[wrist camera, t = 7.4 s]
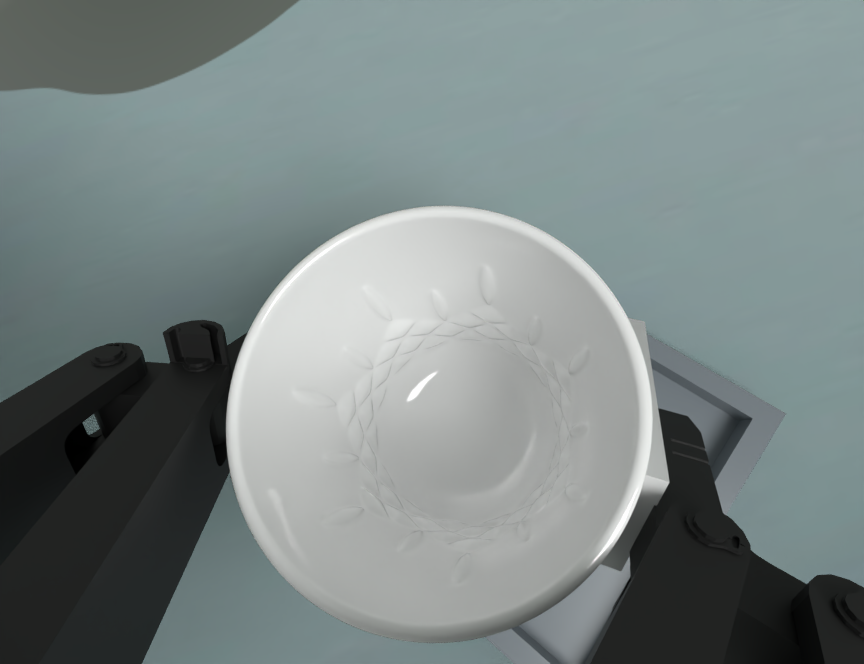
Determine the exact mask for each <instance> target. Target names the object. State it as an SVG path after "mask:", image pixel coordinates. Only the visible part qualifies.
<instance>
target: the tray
mask: <svg viewBox="0 0 864 664" xmlns="http://www.w3.org/2000/svg"><path fill="white" fill-rule="evenodd" d="M647 340H648V347H649V353H650V360H651V366H652V372H653V379H654V385H655V392H656V398H657V405H658V408H660V409H664V410H667V411H671V412H675V413H678V414H682V415H686V416H688V417H689V418H690V419H691V420H692V422H693V423H694V424H695V425H696V427H697V428H698V429H699V430H700V432H701V434H702V438H703V441H704V445H705V451H706V452H707V456H708V460H709V463H708V464H709V465H710V467H711V471H712V474H713V478H714V482H715V485H716V489H717V493H718V496H719V500H720V504H721V507H722V511H723V513H724V514H725V515H726V514H727V513H728V511H729V509H730V508H731V506H732V504H733V503H734V501H735V499H736V497H737V496H738V494H739V492H740V491H741V489H742V487H743V486H744V484H745V482H746V481H747V479H748V477H749V475H750V474H751V472H752V470H753V469H754V467H755V465H756V464H757V462H758V460H759V459H760V457H761V455H762V454H763V452H764V450H765V448H766V447H767V445H768V443H769V442H770V440H771V438H772V437H773V435H774V433H775V432H776V430H777V428H778V427H779V425H780V423H781V421H782V420H783V418H784V416H785V415H786V413H784V412H782V411H781V410H779V409H777V408H775V407H774V406H772V405H770V404H769V403H767V402H765V401H763V400H762V399H760V398H758V397H756V396H755V395H753V394H751V393H749V392H748V391H746V390H744V389H742V388H741V387H739V386H737V385H735V384H734V383H732V382H730V381H728V380H727V379H725V378H723V377H721V376H720V375H718V374H716V373H714V372H713V371H711V370H709V369H707V368H706V367H704V366H702V365H701V364H699V363H697V362H695V361H694V360H692V359H690V358H688V357H687V356H685V355H683V354H681V353H680V352H678V351H676V350H674V349H673V348H671V347H669V346H667V345H666V344H664V343H662V342H660V341H659V340H657V339H655V338H653V337H652V336H650V335H648V334H647ZM630 576H631V575H630V556H629V558H628V560H627V562H626V564H625V566H624V567H623V569H622V571H618V570H615V569H613V568H610V567H607V566H604V565H602V564H600V565H599V566H598V567H597V569H596V570H595V571H594V572H593V573H592V574H591V575H590V576H589V577H588V578H587V579H586V580H585V581H584V582H583V583H582V584H581V585H580V586H579V587H578V588H577V589H576V590H574V591H573V592H572V593H571V594H570V595H568V596H567V597H566V598H565V599H563V600H562V601H561V602H559V603H558V604H556V605H555V606H553V607H552V608H550V609H549V610H547V611H546V612H544V613H542V614H541V615H539V616H537V617H535V618H533V619H531V620H529V621H527V622H525V623H523V624H521V625H519V626H516V627H514V628H511V629H509V630H506V631H503V632H500V633H497V634H494V635H491V636H487V637H486V638H487V639H488V640H489V641H490V642H491V643H492V644H493V645H494V646H495V647H497V648H498V649H499V650H500V651H501V652H502V653H503V654H504V655H505V656H506V657H508V658H509V659H510V660H511V661H512V662H513V663H514V664H585V662H586V660H587V658H588V656H589V654H590V652H591V651H592V649H593V647H594V645H595V643H596V641H597V639H598V637H599V635H600V633H601V631H602V629H603V627H604V625H605V623H606V622H607V620H608V618H609V616H610V614H611V612H612V610H613V606H614V605H615V603H616V601H617V599H618V597H619V596H620V594H621V592H622V590H623V589H624V587H625V585H626V583H627V582H628V580H629V578H630Z"/></svg>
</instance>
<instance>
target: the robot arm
mask: <svg viewBox="0 0 864 664" xmlns="http://www.w3.org/2000/svg"><path fill="white" fill-rule="evenodd" d="M628 319H629V321H630V323H631V325H632V327H633V330H634V332H635V334H636V337H637V339H638V342H639V344H640V347H641V350H642V353H643V356H644V360H645V364H646V368H647V372H648V377H649V382H650V389H651V397H652V412H653V427H652V442H651V450H650V457H649V463H648V467H647V472H646V476H645V479H644V483H643V486H642V489H641V492H640V495H639V498H638V501H637V503H636V506H635V508H634V510H633V513H632V515H631V517H630V519H629V521H628V523H627V525H626V527H625V529H624V530H623V532H622V534H621V536H620V537H619V539H618V540H617V542H616V543H615V545H614V547H613V548H612V549H611V551H610V552H609V554H608V555H607V556H606V558H605V559H604V560H603V561H602V563H601V564H602V565H604V566H607V567H610V568H613V569H615V570H618V571H622V569H623V567H624V566H625V564H626V562H627V560H628V558H629V556H630V575H631V576H630V578H629V580H628V582H627V583H626V585H625V587H624V589H623V590H622V592H621V594H620V596H619V597H618V599H617V601H616V603H615V605H614V606H613V610H612V612H611V614H610V616H609V618H608V620H607V622H606V623H605V625H604V627H603V629H602V631H601V633H600V635H599V637H598V639H597V641H596V643H595V645H594V647H593V649H592V651H591V652H590V654H589V656H588V658H587V660H586V662H585V664H864V588H863V587H862V586H860V585H858V584H856V583H854V582H852V581H850V580H848V579H845V578H841V577H838V576H835V575H817V576H816V577H814V578H813V579H812V580H811V581H810V582H809V583H808V584H805V583H803V582H802V581H800V580H798V579H796V578H795V577H793V576H791V575H789V574H788V573H786V572H784V571H782V570H781V569H779V568H777V567H775V566H773V565H772V564H770V563H768V562H767V561H765V560H764V559H762V558H761V557H759V556H758V555H756V554H755V553H754V552H752V551H751V549H750V543H749V542H748V540H747V538H746V536H745V534H744V532H743V531H742V530H741V529H740V528H739V527H738V525H737V524H736V523H735V522H734V521H733V520H732V519H731V518H729V517H728V516H727V515H725V514H724V513H723V511H722V507H721V504H720V500H719V496H718V493H717V489H716V485H715V482H714V478H713V474H712V471H711V467H710V465H709V464H708V463H709V460H708V456H707V452H706V451H705V445H704V441H703V438H702V434H701V432H700V430H699V429H698V428H697V427H696V425H695V424H694V423H693V422H692V420H691V419H690V418H689V417H688V416H686V415H682V414H678V413H675V412H671V411H667V410H664V409H660V408H658V405H657V398H656V392H655V385H654V379H653V372H652V366H651V360H650V353H649V347H648V340H647V334H646V327H645V322H644V321H640V320H635V319H631V318H628ZM163 335H164V339H165V342H166V346H167V350H168V354H169V358H170V363H169V364H168V363H154V362H145V359H144V355H143V352H142V350H141V349H140V347H139V346H137V345H134V344H130V343H114V344H113V343H111V344H106V345H104V346H100V347H96V348H94V349H92V350H90V351H88V352H85V353H84V354H82V355H80V356H79V357H77V358H75V359H74V360H72V361H70V362H69V363H67V364H65V365H64V366H62V367H60V368H58V369H57V370H55V371H53V372H52V373H50V374H48V375H47V376H45V377H43V378H42V379H40V380H38V381H37V382H35V383H33V384H32V385H30V386H28V387H26V388H25V389H23V390H21V391H20V392H18V393H16V394H15V395H13V396H11V397H10V398H8V399H6V400H5V401H3V402H1V403H0V664H142V662H143V660H144V658H145V655H146V653H147V651H148V649H149V647H150V645H151V642H152V640H153V638H154V636H155V634H156V631H157V629H158V627H159V625H160V623H161V620H162V618H163V616H164V614H165V612H166V610H167V607H168V605H169V603H170V601H171V599H172V596H173V594H174V592H175V590H176V588H177V585H178V583H179V581H180V579H181V577H182V575H183V572H184V570H185V568H186V566H187V564H188V561H189V559H190V557H191V555H192V553H193V550H194V548H195V546H196V544H197V542H198V540H199V537H200V535H201V533H202V531H203V529H204V526H205V524H206V522H207V520H208V518H209V515H210V513H211V511H212V509H213V507H214V504H215V502H216V500H217V498H218V496H219V494H220V491H221V489H222V487H223V485H224V483H225V480H226V478H227V476H228V474H229V472H230V470H229V464H228V456H227V446H226V412H227V402H228V395H229V389H230V384H231V380H232V375H233V371H234V368H235V364H236V361H237V358H238V355H239V352H240V350H241V347H242V344H243V342H244V340H245V337H246V335H247V333H246V334H244V335H243V336H241V337H240V338H238V339H237V340H235V341H234V342H232V343H231V344H229V345H228V346H227V343H226V337H225V332H224V329H223V327H222V326H221V325H220V324H218V323H216V322H212V321H206V320H197V321H189V322H184V323H180V324H177V325H175V326H172V327H170V328H169V329H167V330H166V331H164V332H163ZM93 414H94V415H95V417H96V420H97V422H98V425H99V427H100V429H99V430H97V431H96V432H95V433H93V434H91V435H88V434H87V433H86V430H85V428H84V426H83V423H82V422H83V421H85V420H86V419H87V418H89V417H90V416H91V415H93Z"/></svg>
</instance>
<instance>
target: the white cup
mask: <svg viewBox="0 0 864 664" xmlns="http://www.w3.org/2000/svg"><path fill="white" fill-rule="evenodd" d="M652 427H653V412H652V397H651V389H650V382H649V377H648V372H647V368H646V364H645V360H644V356H643V353H642V350H641V347H640V344H639V342H638V339H637V337H636V334H635V332H634V330H633V327H632V325H631V323H630V321H629V319H628V317H627V315H626V314H625V312H624V310H623V308H622V307H621V305H620V303H619V302H618V300H617V299H616V297H615V296H614V294H613V293H612V291H611V290H610V289H609V287H608V286H607V285H606V284H605V282H604V281H603V280H602V279H601V277H600V276H599V275H598V274H597V273H596V272H595V271H594V270H593V269H592V268H591V267H590V266H589V265H588V264H587V263H586V262H585V261H584V260H583V259H582V258H581V257H580V256H578V255H577V254H576V253H575V252H574V251H572V250H571V249H570V248H569V247H567V246H566V245H564V244H563V243H562V242H560V241H559V240H557V239H556V238H554V237H552V236H551V235H549V234H547V233H546V232H544V231H542V230H540V229H538V228H536V227H534V226H532V225H530V224H528V223H526V222H523V221H521V220H518V219H515V218H513V217H510V216H507V215H503V214H500V213H496V212H492V211H488V210H483V209H477V208H471V207H461V206H427V207H417V208H410V209H405V210H400V211H395V212H391V213H388V214H384V215H381V216H378V217H375V218H372V219H369V220H367V221H364V222H362V223H360V224H357V225H355V226H353V227H351V228H349V229H347V230H345V231H343V232H341V233H340V234H338V235H336V236H334V237H333V238H331V239H330V240H328V241H327V242H325V243H324V244H322V245H321V246H319V247H318V248H316V249H315V250H314V251H313V252H311V253H310V254H309V255H308V256H306V257H305V258H304V259H303V260H302V261H301V262H299V263H298V264H297V265H296V266H295V267H294V268H293V269H292V270H291V271H290V272H289V273H288V274H287V275H286V276H285V277H284V279H283V280H282V281H281V282H280V283H279V284H278V286H277V287H276V288H275V289H274V291H273V292H272V293H271V295H270V296H269V297H268V299H267V300H266V302H265V303H264V305H263V306H262V308H261V309H260V311H259V312H258V314H257V316H256V318H255V319H254V321H253V323H252V325H251V327H250V329H249V331H248V333H247V335H246V337H245V340H244V342H243V344H242V347H241V350H240V352H239V355H238V358H237V361H236V364H235V368H234V371H233V375H232V380H231V384H230V389H229V395H228V402H227V412H226V446H227V456H228V464H229V470H230V475H231V479H232V483H233V487H234V491H235V494H236V497H237V500H238V503H239V506H240V509H241V511H242V514H243V516H244V518H245V521H246V523H247V525H248V527H249V529H250V531H251V533H252V535H253V536H254V538H255V540H256V542H257V543H258V545H259V546H260V548H261V550H262V551H263V552H264V554H265V555H266V557H267V558H268V560H269V561H270V562H271V563H272V565H273V566H274V567H275V568H276V570H277V571H278V572H279V573H280V574H281V575H282V576H283V578H284V579H285V580H286V581H287V582H288V583H289V584H290V585H291V586H292V587H293V588H294V589H296V590H297V591H298V592H299V593H300V594H301V595H302V596H304V597H305V598H306V599H307V600H309V601H310V602H311V603H313V604H314V605H316V606H317V607H318V608H320V609H321V610H323V611H325V612H326V613H328V614H329V615H331V616H333V617H335V618H337V619H338V620H340V621H342V622H344V623H346V624H349V625H351V626H353V627H355V628H358V629H360V630H363V631H366V632H369V633H372V634H375V635H379V636H382V637H386V638H391V639H396V640H402V641H409V642H418V643H450V642H460V641H467V640H473V639H478V638H483V637H487V636H491V635H494V634H497V633H500V632H503V631H506V630H509V629H511V628H514V627H516V626H519V625H521V624H523V623H525V622H527V621H529V620H531V619H533V618H535V617H537V616H539V615H541V614H542V613H544V612H546V611H547V610H549V609H550V608H552V607H553V606H555V605H556V604H558V603H559V602H561V601H562V600H563V599H565V598H566V597H567V596H568V595H570V594H571V593H572V592H573V591H574V590H576V589H577V588H578V587H579V586H580V585H581V584H582V583H583V582H584V581H585V580H586V579H587V578H588V577H589V576H590V575H591V574H592V573H593V572H594V571H595V570H596V569H597V567H598V566H599V565H600V564H601V563H602V561H603V560H604V559H605V558H606V556H607V555H608V554H609V552H610V551H611V549H612V548H613V547H614V545H615V543H616V542H617V540H618V539H619V537H620V536H621V534H622V532H623V530H624V529H625V527H626V525H627V523H628V521H629V519H630V517H631V515H632V513H633V510H634V508H635V506H636V503H637V501H638V498H639V495H640V492H641V489H642V486H643V483H644V479H645V476H646V472H647V467H648V463H649V457H650V450H651V442H652Z"/></svg>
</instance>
